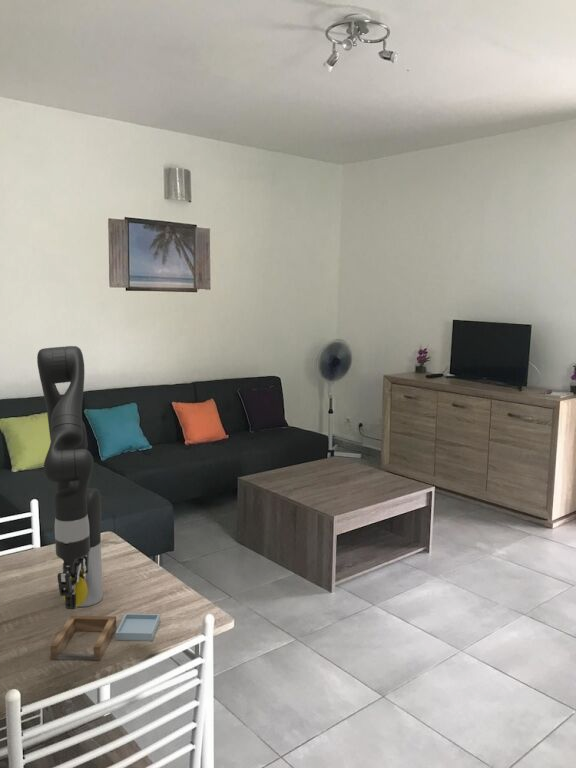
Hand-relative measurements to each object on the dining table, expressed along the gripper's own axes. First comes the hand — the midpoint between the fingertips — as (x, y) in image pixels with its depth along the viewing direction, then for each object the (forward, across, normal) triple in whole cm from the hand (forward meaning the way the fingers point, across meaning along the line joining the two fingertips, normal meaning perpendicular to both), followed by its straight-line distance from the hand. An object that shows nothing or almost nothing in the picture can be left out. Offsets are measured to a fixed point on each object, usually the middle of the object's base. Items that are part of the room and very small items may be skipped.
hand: (75, 601), depth 148 cm
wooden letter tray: (+17, -9, -2) cm, 20 cm away
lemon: (+2, 0, 0) cm, 2 cm away
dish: (+17, -16, +10) cm, 26 cm away
